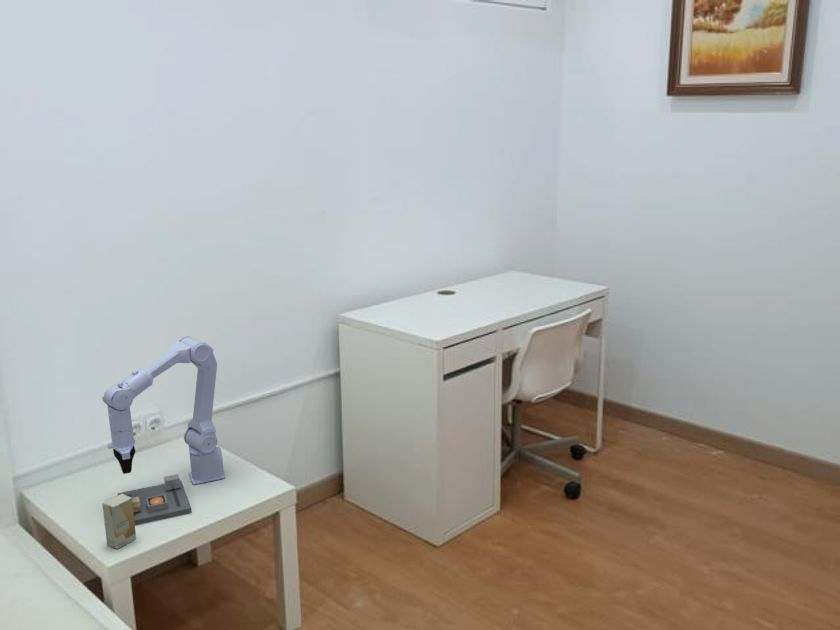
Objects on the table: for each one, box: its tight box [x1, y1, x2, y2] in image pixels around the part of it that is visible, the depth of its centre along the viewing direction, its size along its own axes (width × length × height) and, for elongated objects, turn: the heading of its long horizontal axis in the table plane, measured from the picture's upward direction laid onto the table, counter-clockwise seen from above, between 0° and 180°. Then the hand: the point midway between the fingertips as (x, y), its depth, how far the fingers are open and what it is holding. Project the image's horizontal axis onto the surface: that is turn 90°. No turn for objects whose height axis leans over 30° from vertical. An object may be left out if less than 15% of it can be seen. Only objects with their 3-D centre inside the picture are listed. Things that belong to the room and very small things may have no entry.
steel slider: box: [163, 473, 181, 490], centre depth 229 cm, size 4×3×3 cm
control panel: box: [117, 480, 193, 526], centre depth 223 cm, size 18×18×4 cm
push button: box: [150, 497, 164, 505], centre depth 220 cm, size 4×4×2 cm
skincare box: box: [102, 494, 137, 550], centre depth 204 cm, size 6×4×12 cm
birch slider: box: [132, 496, 141, 513], centre depth 217 cm, size 4×3×3 cm
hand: (126, 472), depth 221 cm, fingers closed
